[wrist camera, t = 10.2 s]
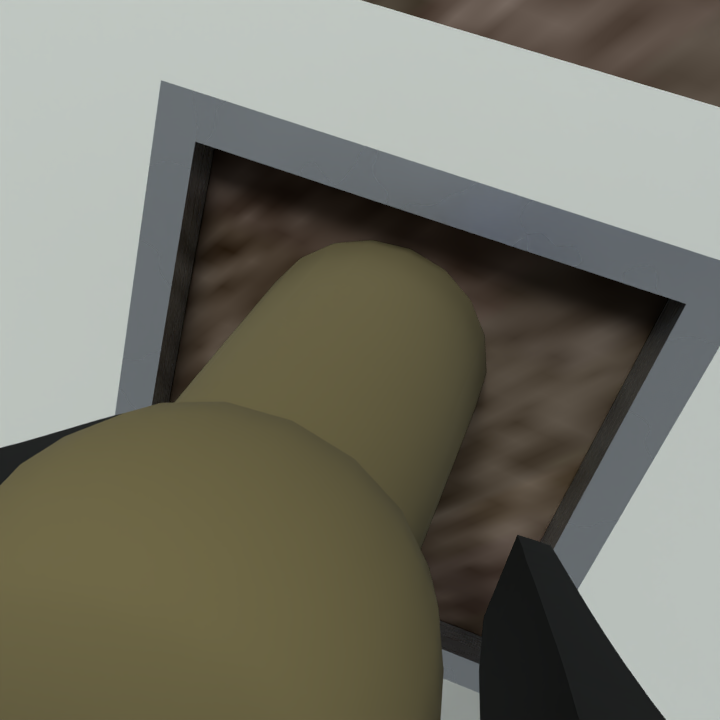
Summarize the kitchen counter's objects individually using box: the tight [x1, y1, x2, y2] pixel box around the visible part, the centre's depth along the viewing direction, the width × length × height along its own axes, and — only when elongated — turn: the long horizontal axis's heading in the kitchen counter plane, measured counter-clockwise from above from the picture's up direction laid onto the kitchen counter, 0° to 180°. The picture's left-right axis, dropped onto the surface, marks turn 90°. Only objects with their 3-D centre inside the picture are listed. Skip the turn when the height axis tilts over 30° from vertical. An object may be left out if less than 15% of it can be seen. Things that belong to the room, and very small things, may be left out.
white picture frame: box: [0, 0, 720, 720], centre depth 15 cm, size 24×18×1 cm
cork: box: [0, 240, 486, 720], centre depth 9 cm, size 6×6×11 cm
